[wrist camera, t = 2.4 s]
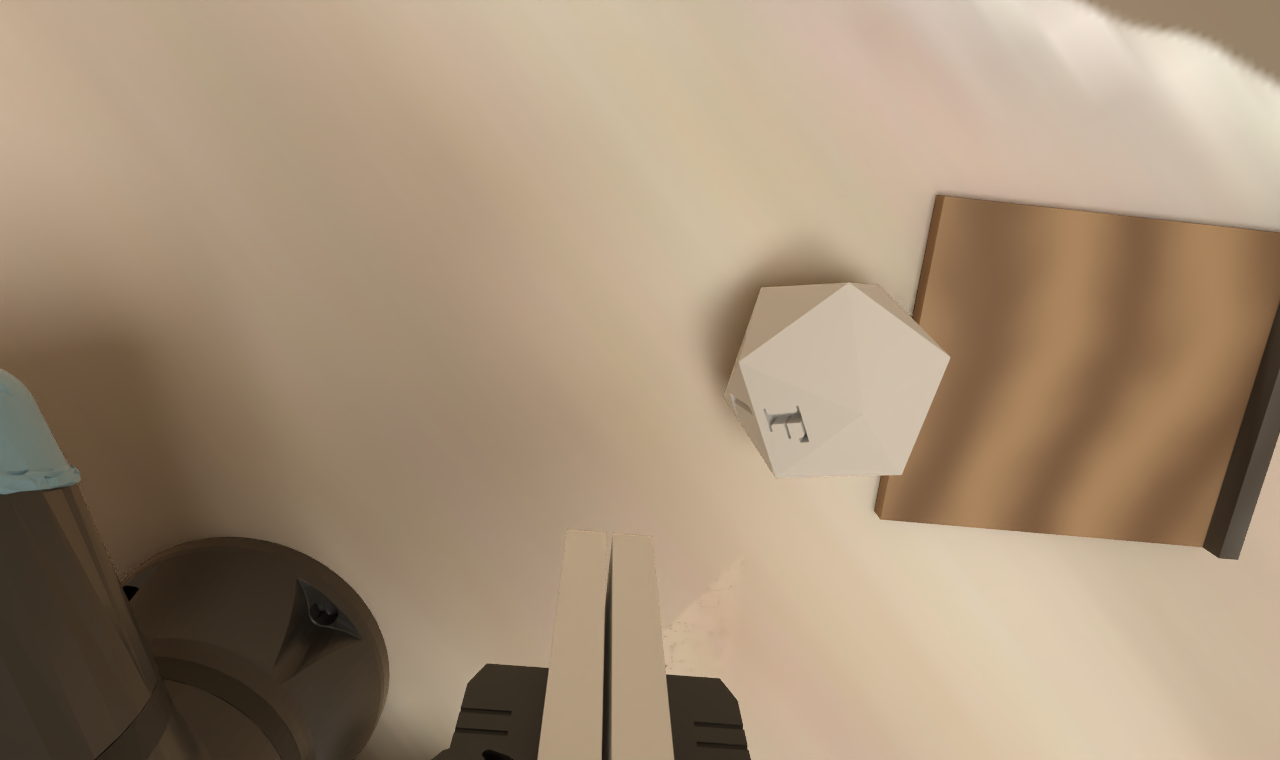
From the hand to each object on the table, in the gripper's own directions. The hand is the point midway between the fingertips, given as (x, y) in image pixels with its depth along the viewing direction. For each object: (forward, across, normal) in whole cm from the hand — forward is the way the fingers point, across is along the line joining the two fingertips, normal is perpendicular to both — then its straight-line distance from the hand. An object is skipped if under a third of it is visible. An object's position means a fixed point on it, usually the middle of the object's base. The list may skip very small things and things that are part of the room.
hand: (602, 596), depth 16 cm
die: (+25, +10, 0) cm, 26 cm away
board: (+24, +24, 0) cm, 34 cm away
